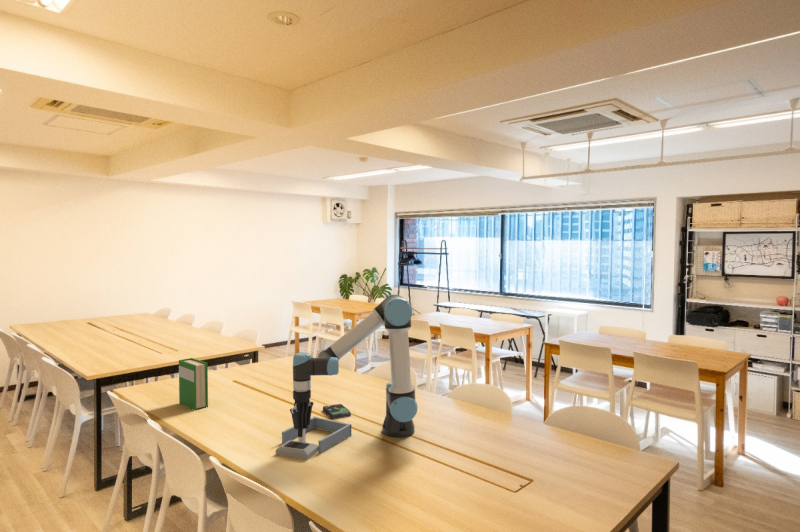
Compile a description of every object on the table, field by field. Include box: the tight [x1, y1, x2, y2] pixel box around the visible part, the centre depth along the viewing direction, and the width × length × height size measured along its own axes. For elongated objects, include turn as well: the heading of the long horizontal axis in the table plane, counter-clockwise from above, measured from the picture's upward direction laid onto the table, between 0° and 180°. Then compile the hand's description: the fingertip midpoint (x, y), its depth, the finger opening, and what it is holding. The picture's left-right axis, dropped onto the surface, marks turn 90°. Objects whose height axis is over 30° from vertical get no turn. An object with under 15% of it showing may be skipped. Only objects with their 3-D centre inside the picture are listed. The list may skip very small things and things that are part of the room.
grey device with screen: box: [275, 439, 319, 461], centre depth 206 cm, size 10×4×15 cm
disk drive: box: [322, 403, 352, 420], centre depth 256 cm, size 10×3×15 cm
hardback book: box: [178, 357, 209, 411], centre depth 267 cm, size 18×7×24 cm, turn 48°
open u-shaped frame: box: [281, 416, 352, 454], centre depth 221 cm, size 21×22×5 cm
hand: (302, 443), depth 212 cm, fingers closed
